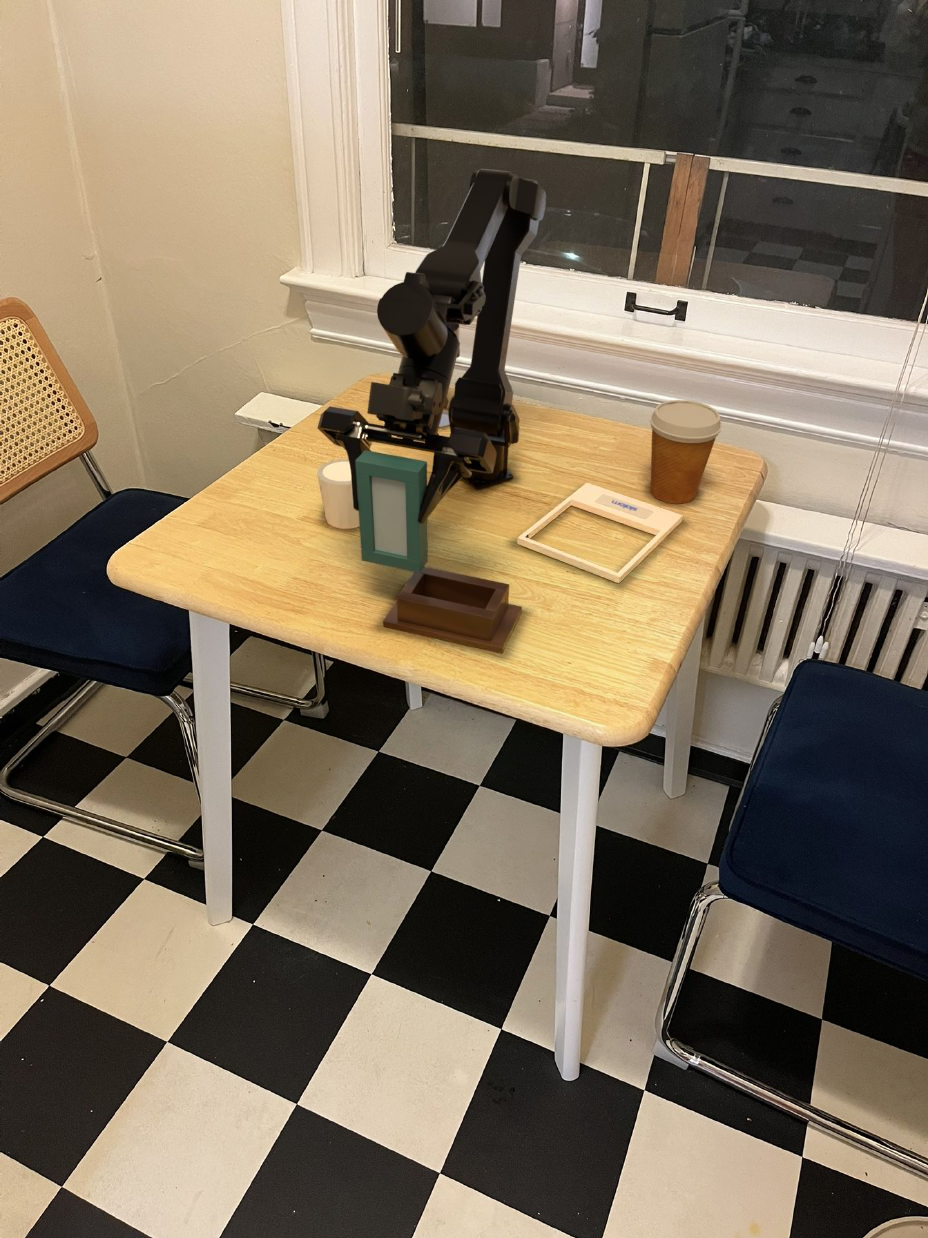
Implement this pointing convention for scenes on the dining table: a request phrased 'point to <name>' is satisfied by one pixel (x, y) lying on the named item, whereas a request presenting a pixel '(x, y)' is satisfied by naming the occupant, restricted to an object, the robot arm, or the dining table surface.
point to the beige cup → (338, 494)
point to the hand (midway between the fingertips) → (387, 516)
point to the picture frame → (392, 510)
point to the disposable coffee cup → (681, 448)
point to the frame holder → (455, 609)
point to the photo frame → (614, 509)
